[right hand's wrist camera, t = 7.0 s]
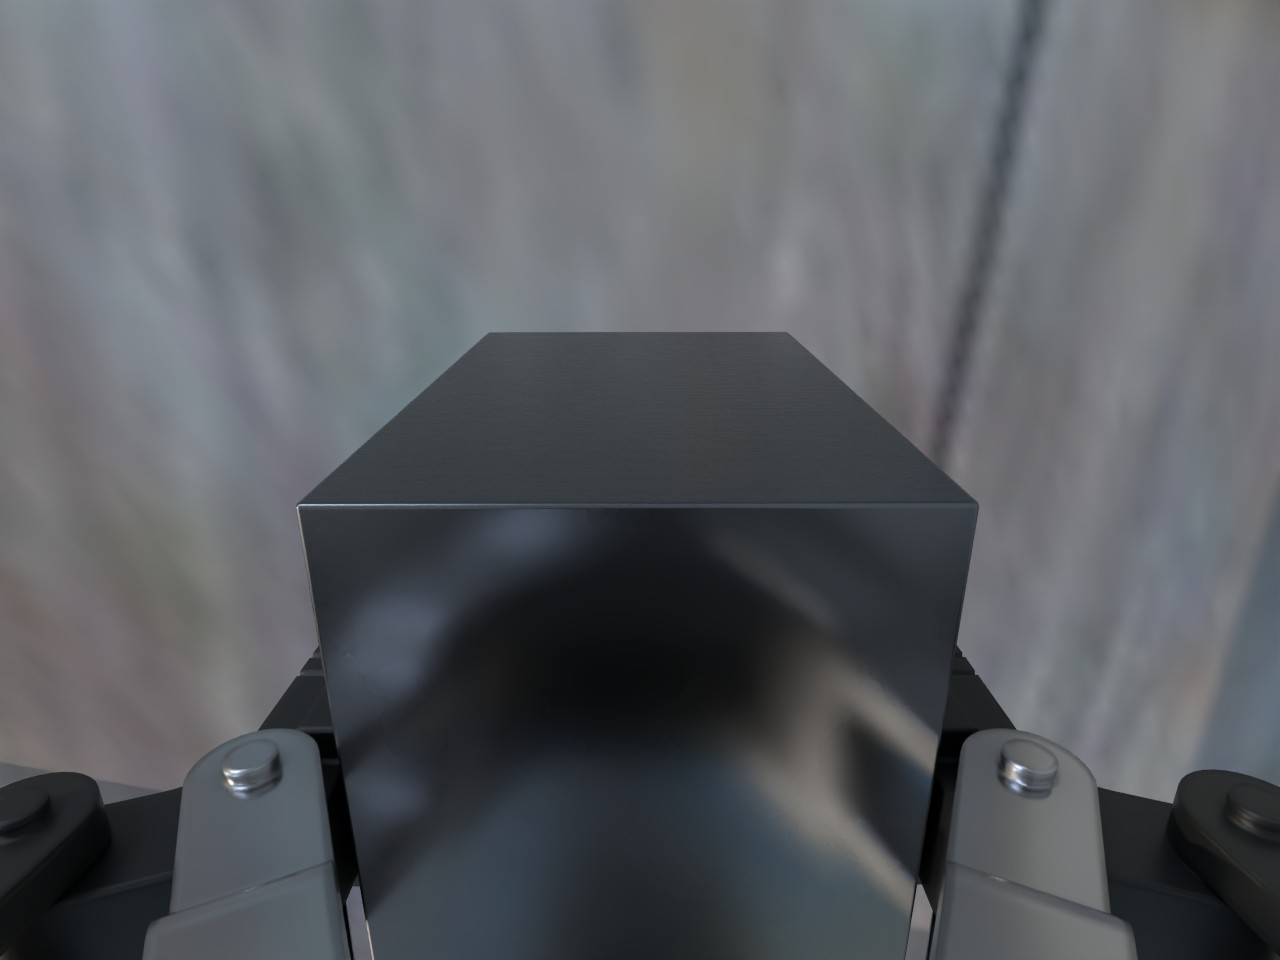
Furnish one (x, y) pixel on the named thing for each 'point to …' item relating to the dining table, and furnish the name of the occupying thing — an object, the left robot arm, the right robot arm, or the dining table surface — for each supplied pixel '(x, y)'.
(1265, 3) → the dining table surface
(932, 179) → the dining table surface
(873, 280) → the dining table surface
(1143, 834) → the right robot arm
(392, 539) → the bar
